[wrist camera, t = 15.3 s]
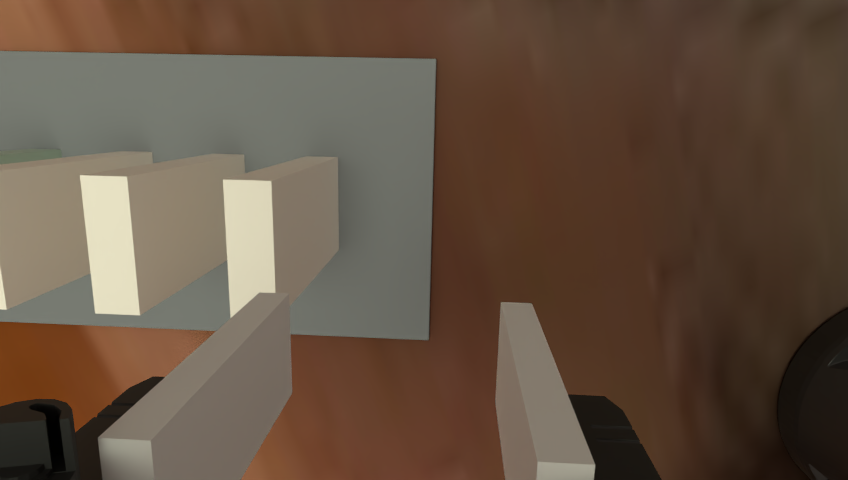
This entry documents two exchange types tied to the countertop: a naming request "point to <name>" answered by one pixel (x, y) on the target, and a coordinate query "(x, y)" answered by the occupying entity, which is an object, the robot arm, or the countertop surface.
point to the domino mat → (252, 167)
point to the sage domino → (28, 155)
